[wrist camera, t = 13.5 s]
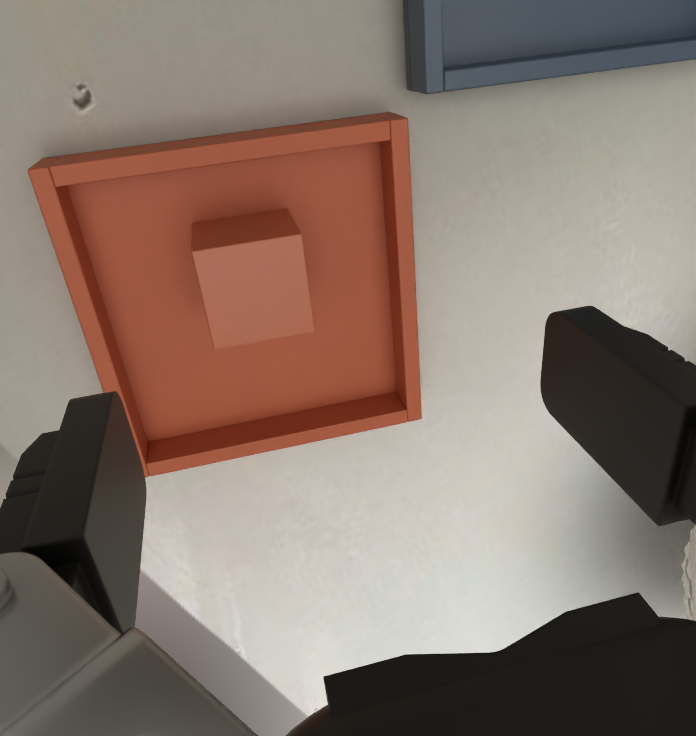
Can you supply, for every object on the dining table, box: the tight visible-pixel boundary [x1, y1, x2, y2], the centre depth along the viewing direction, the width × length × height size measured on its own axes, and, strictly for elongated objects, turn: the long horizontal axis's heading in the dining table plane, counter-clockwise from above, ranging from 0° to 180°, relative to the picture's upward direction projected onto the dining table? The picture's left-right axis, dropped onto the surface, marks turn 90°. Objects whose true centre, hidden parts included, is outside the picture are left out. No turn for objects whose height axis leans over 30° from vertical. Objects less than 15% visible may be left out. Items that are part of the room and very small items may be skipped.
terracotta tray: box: [28, 112, 422, 477], centre depth 29 cm, size 15×15×3 cm
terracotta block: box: [191, 208, 315, 351], centre depth 27 cm, size 4×4×4 cm
